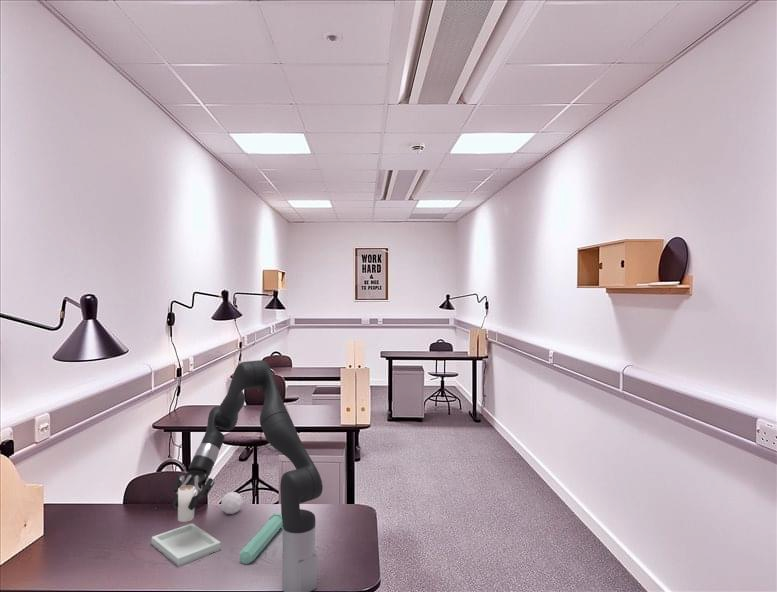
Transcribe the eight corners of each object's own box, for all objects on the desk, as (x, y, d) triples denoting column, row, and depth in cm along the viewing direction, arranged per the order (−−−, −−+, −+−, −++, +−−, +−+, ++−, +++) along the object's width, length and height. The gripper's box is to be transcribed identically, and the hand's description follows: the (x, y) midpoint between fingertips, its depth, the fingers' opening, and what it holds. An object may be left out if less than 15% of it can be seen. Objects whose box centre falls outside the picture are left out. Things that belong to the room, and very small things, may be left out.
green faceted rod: (249, 546, 151) (281, 511, 176) (232, 552, 152) (267, 515, 177) (256, 565, 151) (287, 526, 175) (239, 570, 152) (273, 531, 176)
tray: (220, 550, 161) (220, 542, 161) (178, 566, 150) (178, 558, 150) (192, 530, 174) (192, 523, 174) (151, 544, 164) (151, 536, 164)
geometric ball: (225, 521, 188) (213, 504, 187) (239, 506, 194) (227, 490, 194) (236, 516, 183) (223, 499, 183) (250, 501, 190) (237, 484, 190)
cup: (196, 518, 163) (197, 487, 163) (182, 523, 159) (182, 492, 159) (190, 513, 166) (190, 483, 166) (175, 518, 162) (175, 487, 162)
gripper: (181, 452, 171) (158, 501, 160) (218, 455, 168) (197, 505, 156) (190, 462, 176) (168, 510, 165) (227, 466, 173) (206, 515, 162)
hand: (182, 507), depth 161 cm, fingers closed on cup, 5 cm apart
